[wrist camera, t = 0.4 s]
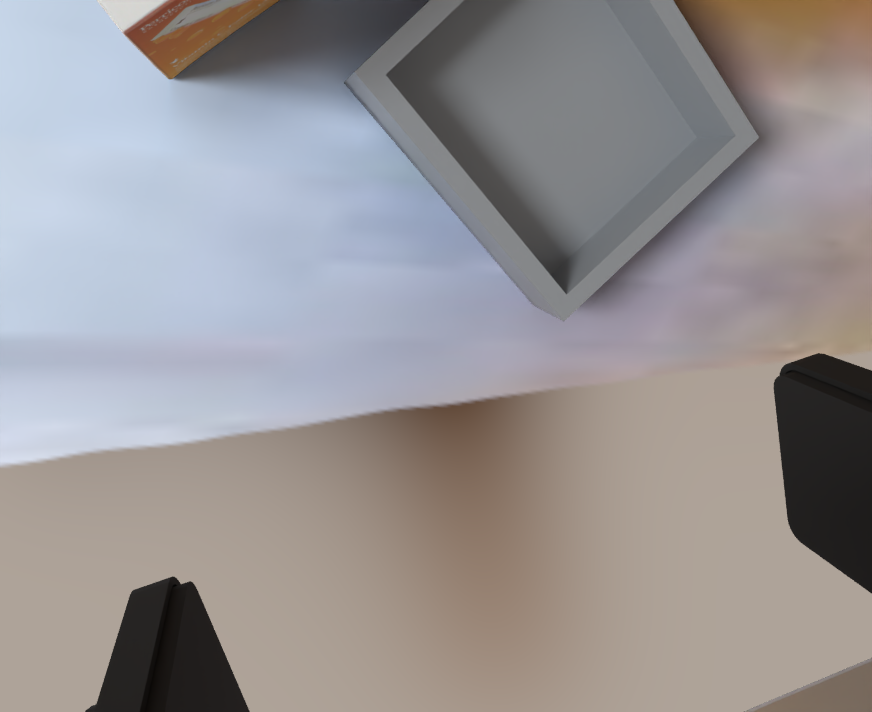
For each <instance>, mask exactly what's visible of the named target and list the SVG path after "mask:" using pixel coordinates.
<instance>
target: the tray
mask: <svg viewBox="0 0 872 712" xmlns="http://www.w3.org/2000/svg"><path fill="white" fill-rule="evenodd" d="M344 83H345V85H346V86H347V87H348V88H349V89H350V90H351V92H352V93H353V94H354V95H355V96H356V98H357V99H358V100H359V101H360V102H361V103H362V105H363V106H364V107H365V108H366V109H367V110H368V112H369V113H370V114H371V115H372V116H373V118H374V119H375V120H376V121H377V122H378V123H379V125H380V126H381V127H382V128H383V129H384V130H385V132H386V133H387V134H388V135H389V136H390V138H391V139H392V140H393V141H394V142H395V143H396V145H397V146H398V147H399V148H400V149H401V150H402V152H403V153H404V154H405V155H406V156H407V157H408V159H409V160H410V161H411V162H412V163H413V165H414V166H415V167H416V168H417V169H418V170H419V172H420V173H421V174H422V175H423V176H424V177H425V179H426V180H427V181H428V182H429V183H430V185H431V186H432V187H433V188H434V189H435V190H436V192H437V193H438V194H439V195H440V196H441V197H442V199H443V200H444V201H445V202H446V203H447V205H448V206H449V207H450V208H451V209H452V210H453V212H454V213H455V214H456V215H457V216H458V217H459V219H460V220H461V221H462V222H463V223H464V224H465V226H466V227H467V228H468V229H469V230H470V232H471V233H472V234H473V235H474V236H475V237H476V239H477V240H478V241H479V242H480V243H481V244H482V246H483V247H484V248H485V249H486V250H487V252H488V253H489V254H490V255H491V256H492V257H493V259H494V260H495V261H496V262H497V263H498V264H499V266H500V267H501V268H502V269H503V270H504V272H505V273H506V274H507V275H508V276H509V277H510V279H511V280H512V281H513V282H514V283H515V284H516V286H517V287H518V288H519V289H520V290H521V291H522V293H523V294H524V295H525V296H526V297H527V299H528V300H529V301H530V302H531V303H532V304H533V305H534V306H535V307H537V308H539V309H541V310H543V311H545V312H547V313H549V314H551V315H553V316H554V317H556V318H558V319H560V320H562V321H565V320H566V319H567V318H568V317H569V316H570V315H571V314H572V313H573V312H574V311H575V310H577V309H578V308H579V307H580V306H581V305H582V304H583V303H584V302H585V301H586V300H587V299H588V298H589V297H590V296H591V295H592V294H594V293H595V292H596V291H597V290H598V289H599V288H600V287H601V286H602V285H603V284H604V283H605V282H606V281H607V280H608V279H609V278H611V277H612V276H613V275H614V274H615V273H616V272H617V271H618V270H619V269H620V268H621V267H622V266H623V265H624V264H625V263H626V262H628V261H629V260H630V259H631V258H632V257H633V256H634V255H635V254H636V253H637V252H638V251H639V250H640V249H641V248H642V247H643V246H645V245H646V244H647V243H648V242H649V241H650V240H651V239H652V238H653V237H654V236H655V235H656V234H657V233H658V232H659V231H660V230H662V229H663V228H664V227H665V226H666V225H667V224H668V223H669V222H670V221H671V220H672V219H673V218H674V217H675V216H676V215H677V214H679V213H680V212H681V211H682V210H683V209H684V208H685V207H686V206H687V205H688V204H689V203H690V202H691V201H692V200H693V199H694V198H696V197H697V196H698V195H699V194H700V193H701V192H702V191H703V190H704V189H705V188H706V187H707V186H708V185H709V184H710V183H711V182H713V181H714V180H715V179H716V178H717V177H718V176H719V175H720V174H721V173H722V172H723V171H724V170H725V169H726V168H727V167H729V166H730V165H731V164H732V163H733V162H734V161H735V160H736V159H737V158H738V157H739V156H740V155H741V154H742V153H743V152H744V151H746V150H747V149H748V148H749V147H750V146H751V145H752V144H753V143H754V142H755V141H756V140H757V139H758V138H759V136H758V135H757V133H756V131H755V130H754V128H753V127H752V125H751V123H750V122H749V120H748V119H747V117H746V116H745V114H744V112H743V111H742V109H741V108H740V106H739V104H738V103H737V101H736V100H735V98H734V96H733V95H732V93H731V92H730V90H729V88H728V87H727V85H726V84H725V82H724V80H723V79H722V77H721V76H720V74H719V72H718V71H717V69H716V68H715V66H714V65H713V63H712V61H711V60H710V58H709V57H708V55H707V53H706V52H705V50H704V49H703V47H702V45H701V44H700V42H699V41H698V39H697V37H696V36H695V34H694V33H693V31H692V29H691V28H690V26H689V25H688V23H687V21H686V20H685V18H684V17H683V15H682V14H681V12H680V10H679V9H678V7H677V6H676V4H675V2H674V1H673V0H430V1H429V2H428V3H426V4H425V5H424V6H423V7H422V8H421V9H420V10H419V11H418V12H417V13H416V14H415V15H414V16H413V17H412V18H411V19H410V20H409V21H408V22H406V23H405V24H404V25H403V26H402V27H401V28H400V29H399V30H398V31H397V32H396V33H395V34H394V35H393V36H392V37H391V38H390V39H389V40H387V41H386V42H385V43H384V44H383V45H382V46H381V47H380V48H379V49H378V50H377V51H376V52H375V53H374V54H373V55H372V56H371V57H370V58H369V59H367V60H366V61H365V62H364V63H363V64H362V65H361V66H360V67H359V68H358V69H357V70H356V71H355V72H354V73H353V74H352V75H351V76H350V77H349V78H348V79H347V80H346V81H345V82H344Z"/></svg>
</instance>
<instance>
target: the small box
mask: <svg viewBox="0 0 872 712" xmlns="http://www.w3.org/2000/svg"><path fill="white" fill-rule="evenodd" d="M97 1H98V2H99V4H100V5H101V6H102V8H103V9H104V10H105V11H106V13H107V14H108V15H109V16H110V18H111V19H112V20H113V22H114V23H115V24H116V25H117V27H118V28H119V29H120V31H121V32H122V33H123V34H124V35H125V36H126V38H127V39H128V40H129V41H130V42H131V43H132V44H133V45H134V46H135V47H136V48H137V49H138V50H139V51H140V52H141V53H142V54H143V55H144V56H145V57H146V58H147V59H148V60H149V61H150V62H151V63H152V64H153V65H154V66H155V67H156V68H157V69H158V70H159V71H161V72H162V73H163V74H164V75H165V76H166V77H167V78H168V79H173V78H174V77H175V76H176V75H178V74H179V73H180V72H181V71H183V70H184V69H185V68H186V67H188V66H189V65H190V64H192V63H193V62H194V61H195V60H197V59H198V58H199V57H201V56H202V55H203V54H205V53H206V52H207V51H209V50H210V49H212V48H213V47H214V46H216V45H217V44H219V43H220V42H221V41H223V40H224V39H226V38H227V37H228V36H230V35H231V34H232V33H234V32H235V31H236V30H238V29H239V28H241V27H242V26H244V25H245V24H246V23H248V22H249V21H251V20H252V19H254V18H255V17H256V16H258V15H259V14H261V13H262V12H264V11H265V10H266V9H268V8H269V7H271V6H272V5H274V4H275V3H276V2H278V1H279V0H97Z"/></svg>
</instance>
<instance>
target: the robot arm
mask: <svg viewBox="0 0 872 712" xmlns="http://www.w3.org/2000/svg"><path fill="white" fill-rule="evenodd" d="M774 394H775V403H776V413H777V423H778V432H779V442H780V451H781V460H782V470H783V479H784V489H785V497H786V508H787V517H788V522H789V525H790V528H791V530H792V532H793V534H794V535H795V537H796V538H797V539H798V540H799V541H800V542H801V543H803V544H804V545H805V546H806V547H808V548H809V549H811V550H812V551H813V552H815V553H816V554H818V555H819V556H820V557H822V558H823V559H825V560H826V561H827V562H829V563H830V564H832V565H833V566H834V567H836V568H837V569H838V570H840V571H841V572H843V573H844V574H846V575H847V576H848V577H850V578H851V579H852V580H854V581H855V582H857V583H858V584H859V585H861V586H862V587H863V588H865V589H866V590H868V591H869V592H870V593H872V371H871V370H868V369H865V368H862V367H860V366H857V365H854V364H851V363H848V362H845V361H842V360H840V359H837V358H834V357H831V356H828V355H826V354H820V353H818V354H815V355H812V356H809V357H806V358H803V359H800V360H797V361H794V362H791V363H789V364H786V365H784V367H783V368H782V369H781V372H780V376H778V377H777V378H776V379H775V382H774ZM85 712H249V710H248V707H247V705H246V702H245V700H244V698H243V695H242V693H241V691H240V688H239V686H238V684H237V681H236V679H235V677H234V674H233V672H232V670H231V667H230V665H229V663H228V660H227V658H226V656H225V653H224V651H223V649H222V646H221V644H220V642H219V639H218V637H217V635H216V633H215V630H214V628H213V625H212V623H211V621H210V618H209V616H208V614H207V611H206V609H205V607H204V604H203V602H202V600H201V598H200V595H199V593H198V591H197V589H196V587H195V585H194V584H193V583H192V582H187V583H184V584H180V582H179V581H178V580H177V578H175V577H170V578H168V579H164V580H162V581H159V582H156V583H153V584H150V585H147V586H144V587H141V588H139V589H135V590H133V591H132V592H131V594H130V597H129V600H128V604H127V607H126V610H125V613H124V617H123V620H122V623H121V627H120V630H119V633H118V636H117V639H116V643H115V646H114V649H113V652H112V656H111V659H110V662H109V666H108V669H107V672H106V675H105V678H104V682H103V685H102V688H101V691H100V695H99V698H98V701H97V704H96V705H93V706H91V707H90V708H89V709H87V710H86V711H85ZM744 712H872V658H871V659H868V660H866V661H863V662H861V663H858V664H856V665H854V666H851V667H849V668H846V669H844V670H842V671H839V672H837V673H835V674H832V675H830V676H827V677H825V678H823V679H820V680H818V681H815V682H813V683H811V684H808V685H806V686H803V687H801V688H799V689H796V690H794V691H792V692H789V693H787V694H784V695H782V696H780V697H777V698H775V699H773V700H770V701H768V702H765V703H763V704H761V705H759V706H756V707H753V708H751V709H749V710H747V711H744Z"/></svg>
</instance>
